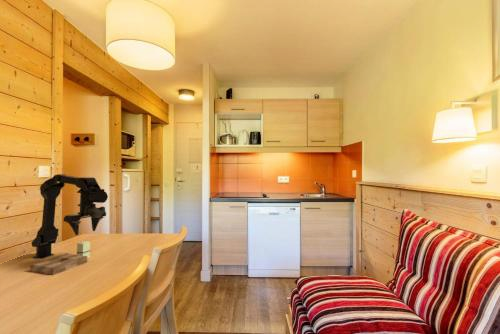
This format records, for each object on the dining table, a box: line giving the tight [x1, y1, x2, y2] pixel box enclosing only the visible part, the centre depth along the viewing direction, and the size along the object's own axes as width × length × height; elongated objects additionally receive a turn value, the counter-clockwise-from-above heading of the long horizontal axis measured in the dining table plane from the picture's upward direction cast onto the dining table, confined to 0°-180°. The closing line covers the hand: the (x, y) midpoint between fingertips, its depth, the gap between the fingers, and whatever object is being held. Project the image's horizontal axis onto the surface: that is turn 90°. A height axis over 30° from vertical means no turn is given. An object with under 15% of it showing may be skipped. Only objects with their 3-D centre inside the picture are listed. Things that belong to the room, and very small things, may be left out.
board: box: [30, 253, 88, 276], centre depth 113 cm, size 14×16×3 cm
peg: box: [76, 240, 91, 259], centre depth 126 cm, size 4×4×8 cm
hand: (85, 232), depth 120 cm, fingers open, 9 cm apart
